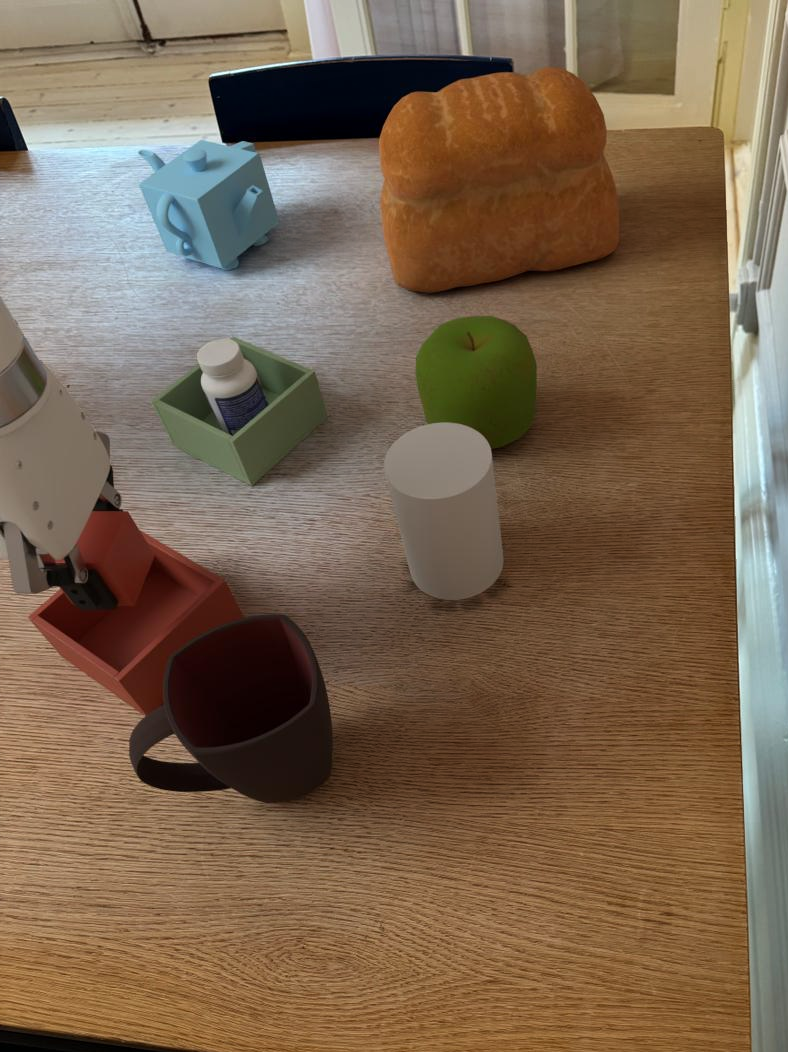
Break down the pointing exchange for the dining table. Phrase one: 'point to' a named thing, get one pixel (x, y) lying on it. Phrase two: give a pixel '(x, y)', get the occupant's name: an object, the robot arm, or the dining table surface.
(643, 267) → the dining table surface
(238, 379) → the pill bottle
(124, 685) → the brick bin
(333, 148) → the dining table surface
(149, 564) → the red block
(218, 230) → the teapot
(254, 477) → the sage bin
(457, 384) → the apple
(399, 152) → the bread
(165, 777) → the mug
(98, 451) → the robot arm
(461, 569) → the white solid cylinder
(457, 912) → the dining table surface
